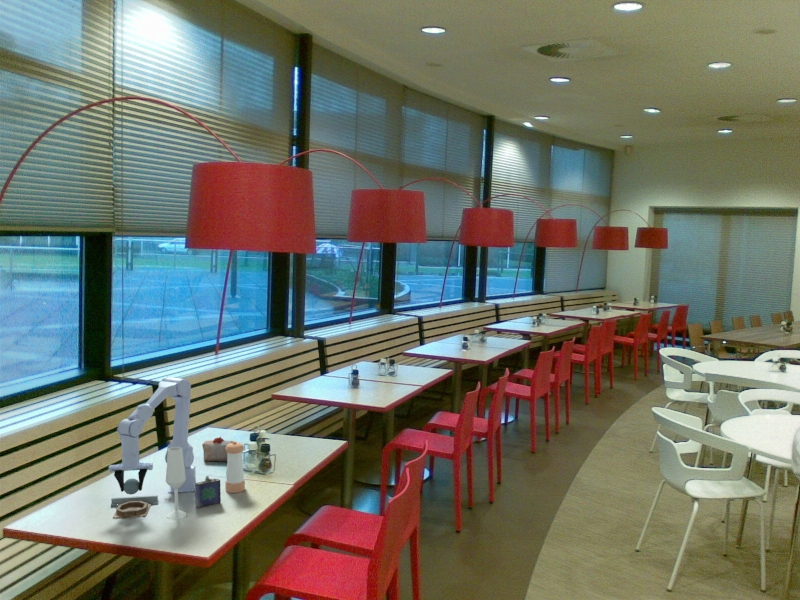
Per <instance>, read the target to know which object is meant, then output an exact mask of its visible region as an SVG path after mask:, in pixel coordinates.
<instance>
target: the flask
mask: <svg viewBox="0 0 800 600" xmlns="http://www.w3.org/2000/svg"><path fill="white" fill-rule="evenodd" d="M221 494H222V493H221V480H220V479H219V478H209V475H206V476H205V479H204V480H203V481H198V482H196V484H195V489H194V495H195V496H194V498H195V499H194V500H195V502H194V503H195V504H194V506H195V508H196V509H198V508H199V509H201V508H207V507H210V506H216V505H221V501H222V500H221Z"/></svg>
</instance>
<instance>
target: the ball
mask: <svg viewBox="0 0 800 600" xmlns="http://www.w3.org/2000/svg"><path fill="white" fill-rule="evenodd" d="M123 489H124V491H123V492H124V493H126V494H127V495H134V494H136V493H138V491H139V479H136V478H129V479H127V480H126V481H124V485H123Z"/></svg>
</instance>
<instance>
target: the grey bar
mask: <svg viewBox="0 0 800 600" xmlns="http://www.w3.org/2000/svg"><path fill="white" fill-rule="evenodd" d="M129 501H143V502H146V503H148V504H151V505H156V504H157V505H158V503H157V502H159V495H157V494H155V495H139V496H137V495H136V496H120V497H112V498H111V503H110V507H111V506H112V507H116V506H118V505H120V504H123V503H126V502H129ZM116 504H118V505H116Z"/></svg>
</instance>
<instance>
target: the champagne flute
mask: <svg viewBox="0 0 800 600" xmlns="http://www.w3.org/2000/svg"><path fill="white" fill-rule="evenodd" d="M165 473H166V474H165V482H166V484H167V485H168V486H169V488H170V487H172V488H173V489H174V493H173V494H174V495H173V496H174V510H173V511H171V512H170V513H168V514H167V515H166V518H167V517H168V518H167V519H169V520H179V518H180V519H183V518H185V517H186V516H187V515H186V514H187V513H186V512H185V511H183V510H180V509H179V492H178V488H180V487H181V486H182V485H183V483H184V482H185V480H186V476H185V468H184V460H183V452H182V448H181V447H172V448H169V449H168V456H167V463H166V469H165ZM170 518H171V519H170Z"/></svg>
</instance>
